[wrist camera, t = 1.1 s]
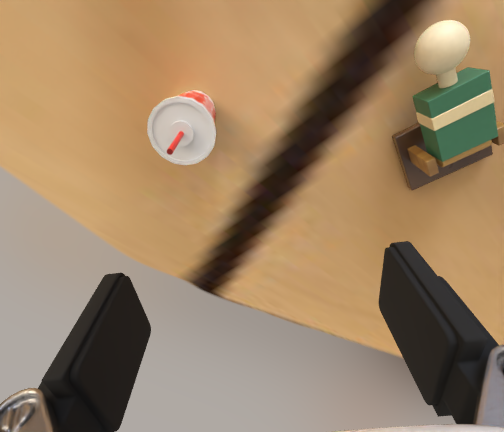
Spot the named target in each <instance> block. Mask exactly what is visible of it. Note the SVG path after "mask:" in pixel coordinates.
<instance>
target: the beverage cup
mask: <svg viewBox="0 0 504 432" xmlns="http://www.w3.org/2000/svg"><path fill="white" fill-rule="evenodd" d="M215 114H216V110H215V106H214V103H213V101H212V100H211V99H210V97H209V96H208V95H206V94H205V93H203V92H201V91H196V90H192V91H187V92H185V93H183V94H181V95H179V96H176V97H171V98H166V99H164V100H163V101H162V102H161V103H159V104H158V105H157V106H155V107H154V108H153V110H152V112H151V114H150V116H149V118H148V130H147V134H148V136H149V139H150V141H151V144H152V146H153V148H154V149H155V150H156V151H157V152H158V153H159V154H160V156H161V157H163V158H165V159H166V160H168V161H170V162H172V163H175V164H180V165H190V164H195V163H199V162H200V161H201V160H203V159H204V158H206V157H207V156H208V155H209V153H210V152H211V150H212V149H213V147H214V145H215V138H216V127H215Z"/></svg>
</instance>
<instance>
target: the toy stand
mask: <svg viewBox="0 0 504 432" xmlns="http://www.w3.org/2000/svg"><path fill="white" fill-rule="evenodd" d="M496 123H497V131H498V137H496V138H494V139H491V140H492V142H493V143H495V144H497V145H501V144H504V123H501V122H498V121H496ZM392 138H393V141H394V144H395V147H396V150H397V153H398V156H399V159H400V163H401V166H402V169H403V172H404V175H405V178H406V181H407V184H408V187H409V188H410V189H411V190H414V189H416V188H419V187H421V186H423V185H425V184H428V183H430V182H432V181H434V180H436V179H439V178H441V177H443V176H445V175H448V174H450V173H452V172H454V171H457V170H459V169H461V168H463V167H465V166H468V165H470V164H472V163H474V162H477V161H479V160H481V159H483V158H486V157H488V156H490V155H492V154H493V153H492V147H491V145H490V146H489V147H486V148H484V149H482V150H480V151H478V152H475V153H473V154H471V155H469V156H467V157H464V158H462V159H460V160H458V161H456V162H454V163H451V164H449V165H447V166H445V167H440V166H439V165H438V164H437V163H436V159H435V158H434V156H432V155H431V154H429V153H428V152H427V150H426V146H425V142H424V139H423V135H422V131H421V127H420V124H419V123H417V124H415V125H413V126H411V127H409V128H407V129H405V130H403V131H401V132H399V133H397V134H395V135H393V136H392Z"/></svg>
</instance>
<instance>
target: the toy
mask: <svg viewBox="0 0 504 432" xmlns="http://www.w3.org/2000/svg"><path fill="white" fill-rule="evenodd" d="M469 46H470V35H469V32H468V30H467V28H466V27H465V26H464V25H463V24H461V23H460V22H458V21H454V20H445V21H440V22H438V23H435V24H433V25H432V26H430V27H429V28H427V29H426V30H425V31H424V32H423V33H422V35H421V36H420V37H419V39H418V41H417V43H416V46H415V49H414V59H415V63H416V64H417V66H418V68H419V69H420V70H422V71H423V72H425V73H427V74H433V75H436V77H437V82H438V83H437V84H435V85H433V86H431V87H429V88H427V89H425V90H423V91H421V92H419V93H418V94H416V95H414V96H412V97H413V101H414V105H415V108H416V115H417V119H418V122H419V124H420V127H421V131H422V135H423V139H424V142H425V146H426V150H427V152H428V153H429V154H431V155H432V156H434V158H435V159H436V163H437V164H438V165H439V166H440V167H445V166H447V165H449V164H451V163H454V162H456V161H458V160H460V159H462V158H464V157H467V156H469V155H471V154H473V153H475V152H478V151H480V150H482V149H484V148H486V147H489V146H490V145H491V143H492V140H491V139H494V138H496V137H498V131H497V123H496V116H495V109H494V94H493V89H492V86H491V79H490V71H489V70H482V69H475V68H469V67H467V68H465V69H463V70H462V71H460V72H458V73H456V68H455V67H456V66H457V65H459V64H460V63H461V61H462V60H463V59H464V58H465V56H466V54H467V52H468V50H469Z"/></svg>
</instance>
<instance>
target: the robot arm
mask: <svg viewBox="0 0 504 432" xmlns="http://www.w3.org/2000/svg"><path fill="white" fill-rule="evenodd" d="M379 308H380V311H381V313H382V315H383V317H384V319H385V321H386V323H387V325H388V327H389V329H390V331H391V333H392V335H393V337H394V340H395V342H396V344H397V346H398V348H399V350H400V352H401V354H402V356H403V358H404V360H405V362H406V364H407V366H408V368H409V370H410V372H411V374H412V376H413V378H414V380H415V382H416V384H417V386H418V388H419V390H420V392H421V394H422V396H423V398H424V400H425V402H426V403H427V404H428V405H433V407H434V409H435V411H436V413H437V415H438V416H448V415H452V416H453V418H454V420H455V422H456V424H441V425H422V426H404V427H386V428H373V429H360V430H347V431H333V432H504V345H498V343H497V342H496V341H495V340H494V339H493V337H492V336H491V335H490V334H489V332H488V331H487V330H486V329H485V328H484V326H483V325H482V324H481V323H480V322H479V320H478V319H477V318H476V317H475V316H474V314H473V313H472V312H471V311H470V309H469V308H468V307H467V306H466V305H465V303H464V302H463V301H462V300H461V299H460V297H459V296H458V295H457V294H456V292H455V291H454V290H453V289H452V288H451V286H450V285H449V284H448V283H447V282H446V280H444V279H443V278H442V277H440V276H437V275H436V274H435V272H434V271H433V270H432V269H431V267H430V266H429V265H428V264H427V262H426V261H425V260H424V259H423V257H422V256H421V255H420V254H419V253H418V251H417V250H416V249H415V248H414V246H413V245H412V244H411V243H410V242H408V241H406V242H397V243H391V244H390V247H389V248H386V249H385V253H384V262H383V270H382V278H381V287H380V295H379ZM150 333H151V327H150V323H149V321H148V318H147V316H146V314H145V312H144V309H143V307H142V305H141V303H140V300H139V298H138V296H137V293H136V291H135V289H134V287H133V284H132V282H131V280H130V278H129V277H128V276H125V275H124V274H123V273H116V274H107V275H105V276H104V277H103V279H102V281H101V282H100V284H99V286H98V287H97V289H96V291H95V292H94V294H93V296H92V297H91V299H90V301H89V302H88V304H87V306H86V307H85V309H84V311H83V312H82V314H81V316H80V317H79V319H78V321H77V322H76V324H75V326H74V327H73V329H72V331H71V332H70V334H69V336H68V337H67V339H66V341H65V342H64V344H63V346H62V347H61V349H60V351H59V352H58V354H57V356H56V357H55V359H54V361H53V362H52V364H51V366H50V367H49V369H48V371H47V372H46V374H45V376H44V377H43V379H42V382H41V384H40V386H39V388H38V389H36V388H28V389H24V390H21V391H19V392H17V393H15V394H13V395H11V396H10V397H9V398H7V399H6V400H4V401H3V402H2V403H1V404H0V432H114V431H117V430H118V429H119V428H120V425H121V423H122V419H123V417H124V413H125V410H126V407H127V404H128V401H129V398H130V395H131V392H132V389H133V386H134V383H135V379H136V377H137V373H138V370H139V367H140V364H141V361H142V358H143V355H144V352H145V349H146V346H147V343H148V340H149V337H150Z"/></svg>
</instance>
